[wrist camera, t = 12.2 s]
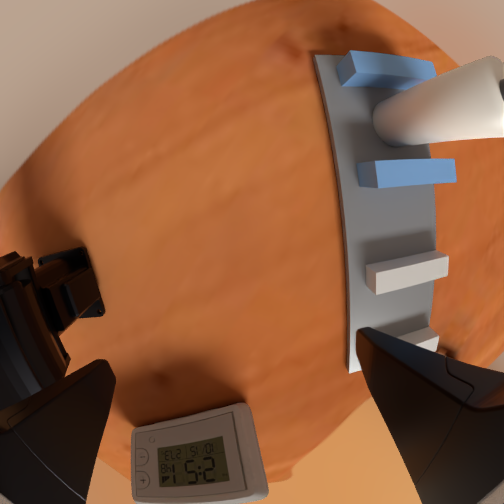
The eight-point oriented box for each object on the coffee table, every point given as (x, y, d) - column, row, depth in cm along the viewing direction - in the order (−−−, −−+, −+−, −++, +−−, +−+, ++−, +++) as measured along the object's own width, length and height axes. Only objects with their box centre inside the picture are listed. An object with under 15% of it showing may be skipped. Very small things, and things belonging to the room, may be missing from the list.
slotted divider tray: (346, 368, 24) (359, 394, 20) (312, 58, 17) (325, 36, 13) (421, 345, 24) (439, 365, 20) (405, 65, 17) (428, 50, 13)
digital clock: (253, 393, 25) (256, 482, 14) (272, 440, 27) (279, 513, 17) (120, 407, 25) (89, 474, 15) (154, 450, 28) (137, 510, 17)
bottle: (392, 156, 18) (544, 152, 5) (362, 114, 18) (504, 58, 4) (420, 132, 18) (558, 116, 4) (393, 92, 17) (523, 40, 3)
